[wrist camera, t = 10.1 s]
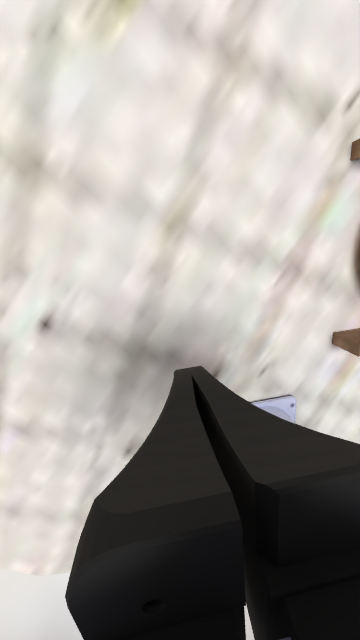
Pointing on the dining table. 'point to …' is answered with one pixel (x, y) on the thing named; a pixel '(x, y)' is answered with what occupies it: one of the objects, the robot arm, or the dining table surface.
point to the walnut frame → (354, 339)
